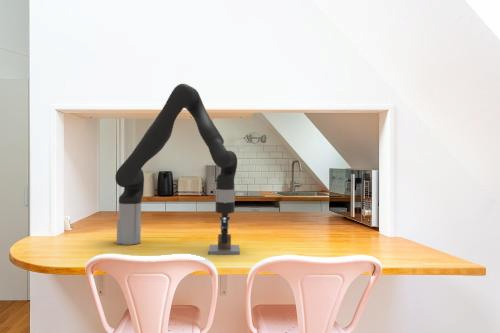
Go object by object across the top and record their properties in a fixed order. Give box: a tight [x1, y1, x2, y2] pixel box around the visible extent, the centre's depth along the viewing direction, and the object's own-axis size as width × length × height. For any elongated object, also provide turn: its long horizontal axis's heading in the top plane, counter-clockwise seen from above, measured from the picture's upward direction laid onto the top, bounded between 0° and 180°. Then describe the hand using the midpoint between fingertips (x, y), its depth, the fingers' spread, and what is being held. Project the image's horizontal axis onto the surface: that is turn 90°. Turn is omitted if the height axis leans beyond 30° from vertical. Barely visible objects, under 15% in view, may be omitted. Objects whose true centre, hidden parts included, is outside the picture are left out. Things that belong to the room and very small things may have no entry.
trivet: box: [208, 244, 241, 255], centre depth 154 cm, size 12×12×1 cm
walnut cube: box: [217, 233, 232, 249], centre depth 154 cm, size 5×5×5 cm
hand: (224, 241), depth 154 cm, fingers open, 8 cm apart
